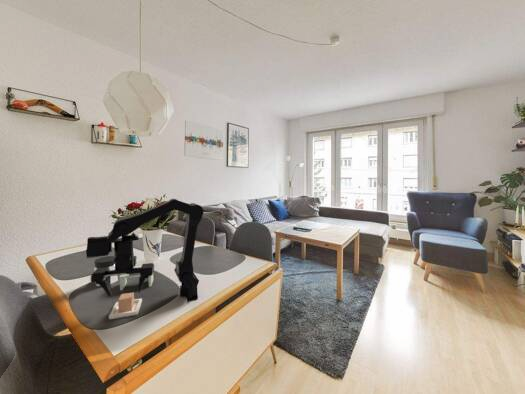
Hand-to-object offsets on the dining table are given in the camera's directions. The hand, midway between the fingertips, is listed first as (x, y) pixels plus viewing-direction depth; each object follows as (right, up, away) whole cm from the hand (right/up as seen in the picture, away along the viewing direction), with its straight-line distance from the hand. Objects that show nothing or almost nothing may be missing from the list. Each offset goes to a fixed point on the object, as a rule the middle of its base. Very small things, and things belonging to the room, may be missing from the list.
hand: (125, 294), depth 79 cm
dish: (0, -6, +1) cm, 6 cm away
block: (0, -6, +1) cm, 6 cm away
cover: (-7, -4, +19) cm, 20 cm away
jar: (-22, -5, +21) cm, 31 cm away
